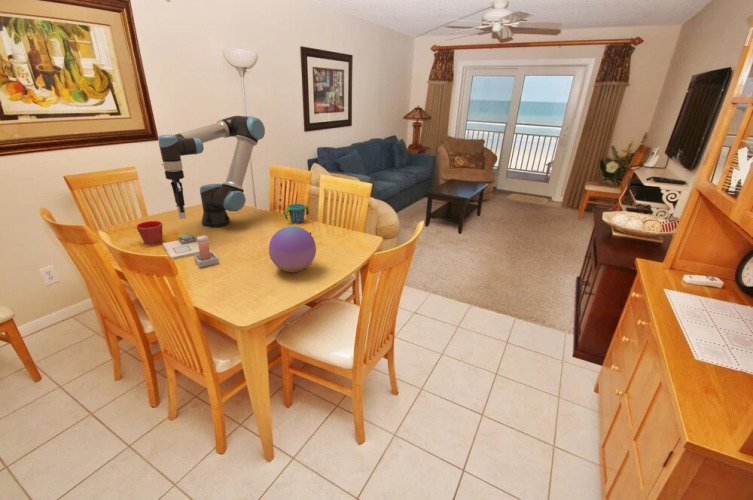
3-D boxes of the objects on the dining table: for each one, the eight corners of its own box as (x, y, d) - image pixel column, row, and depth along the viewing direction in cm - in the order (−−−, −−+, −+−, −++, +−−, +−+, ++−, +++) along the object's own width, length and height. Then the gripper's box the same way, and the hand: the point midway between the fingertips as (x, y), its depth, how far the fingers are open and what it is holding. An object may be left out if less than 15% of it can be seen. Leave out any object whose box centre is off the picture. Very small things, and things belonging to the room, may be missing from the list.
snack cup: (289, 226, 202) (288, 210, 198) (282, 221, 209) (280, 205, 205) (312, 222, 211) (312, 206, 206) (305, 217, 218) (304, 202, 214)
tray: (213, 257, 159) (212, 251, 158) (218, 263, 154) (217, 257, 152) (195, 261, 155) (193, 255, 153) (199, 268, 149) (198, 262, 148)
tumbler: (209, 259, 156) (205, 234, 152) (212, 262, 154) (208, 237, 149) (200, 261, 154) (195, 236, 149) (202, 264, 151) (198, 239, 146)
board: (193, 239, 178) (192, 235, 177) (204, 252, 164) (203, 247, 163) (163, 245, 169) (161, 240, 168) (171, 259, 155) (170, 254, 154)
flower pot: (154, 247, 167) (150, 229, 163) (135, 245, 169) (130, 226, 165) (170, 239, 176) (167, 222, 172) (152, 237, 178) (148, 219, 174)
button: (191, 235, 175) (190, 232, 175) (193, 238, 172) (193, 235, 171) (180, 237, 172) (179, 234, 172) (182, 241, 169) (182, 237, 168)
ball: (274, 283, 140) (270, 238, 132) (267, 263, 156) (263, 222, 148) (321, 276, 147) (320, 233, 139) (310, 257, 164) (309, 218, 156)
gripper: (161, 168, 161) (171, 215, 170) (167, 173, 152) (177, 223, 161) (179, 167, 165) (188, 213, 174) (185, 171, 156) (194, 220, 165)
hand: (182, 218), depth 168 cm, fingers closed
